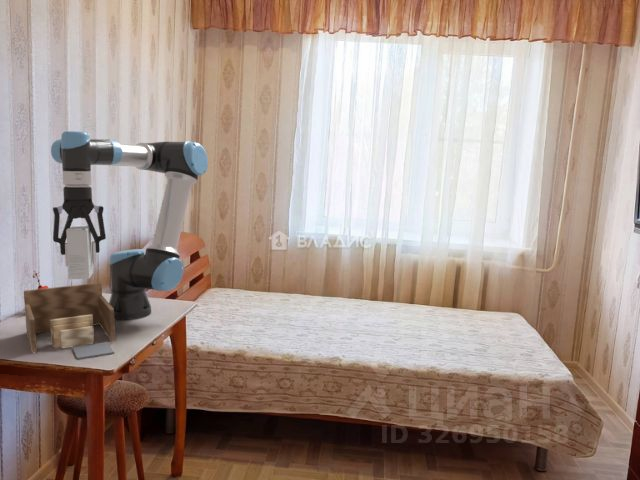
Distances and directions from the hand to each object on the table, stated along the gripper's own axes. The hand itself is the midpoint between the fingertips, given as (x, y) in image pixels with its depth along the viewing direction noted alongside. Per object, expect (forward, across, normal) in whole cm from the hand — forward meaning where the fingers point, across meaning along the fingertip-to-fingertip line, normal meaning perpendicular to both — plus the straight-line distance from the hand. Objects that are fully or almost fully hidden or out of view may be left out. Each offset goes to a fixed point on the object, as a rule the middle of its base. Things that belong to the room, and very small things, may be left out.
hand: (80, 264), depth 172 cm
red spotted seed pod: (+25, -8, +49) cm, 56 cm away
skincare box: (+4, 0, 0) cm, 4 cm away
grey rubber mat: (+26, +2, -4) cm, 26 cm away
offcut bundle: (+26, -2, +5) cm, 26 cm away
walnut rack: (+25, -3, +14) cm, 29 cm away
